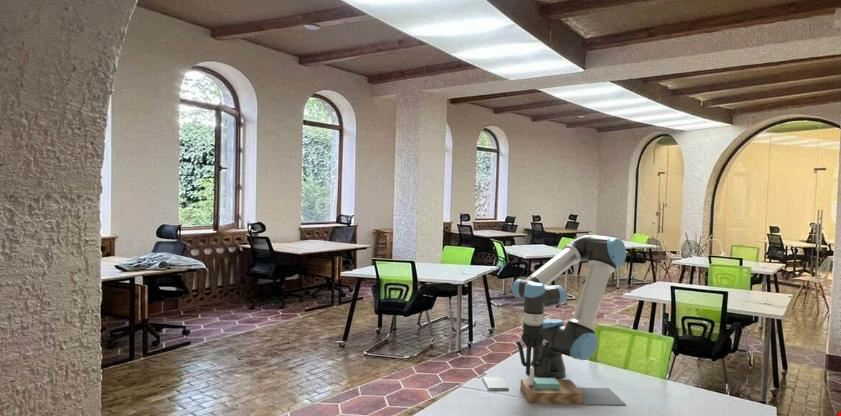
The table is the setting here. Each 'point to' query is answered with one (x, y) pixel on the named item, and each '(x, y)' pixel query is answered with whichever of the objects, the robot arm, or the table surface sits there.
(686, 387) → the table surface
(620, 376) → the table surface
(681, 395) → the table surface
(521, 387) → the deck
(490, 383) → the hard drive
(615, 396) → the mat
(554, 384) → the teal foam pad
